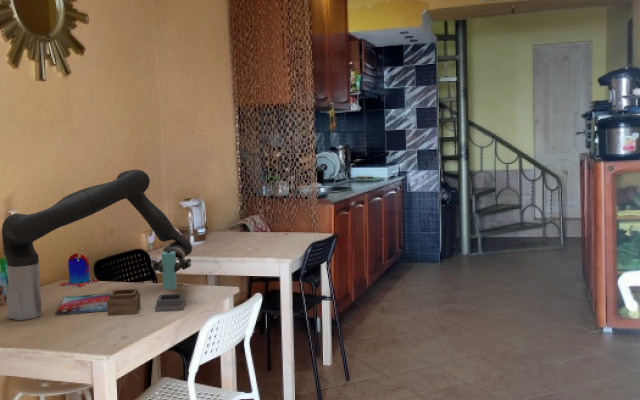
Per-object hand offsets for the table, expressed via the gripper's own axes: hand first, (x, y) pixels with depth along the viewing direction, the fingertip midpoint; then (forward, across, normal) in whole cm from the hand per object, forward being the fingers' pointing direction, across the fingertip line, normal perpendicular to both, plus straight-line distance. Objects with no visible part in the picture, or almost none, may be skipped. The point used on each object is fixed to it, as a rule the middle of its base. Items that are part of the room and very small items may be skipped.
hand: (168, 269), depth 211 cm
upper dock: (-1, -15, +14) cm, 20 cm away
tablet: (-12, -29, +14) cm, 34 cm away
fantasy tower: (-45, -40, +14) cm, 62 cm away
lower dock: (-3, 0, +14) cm, 14 cm away
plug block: (-3, 0, +7) cm, 8 cm away
